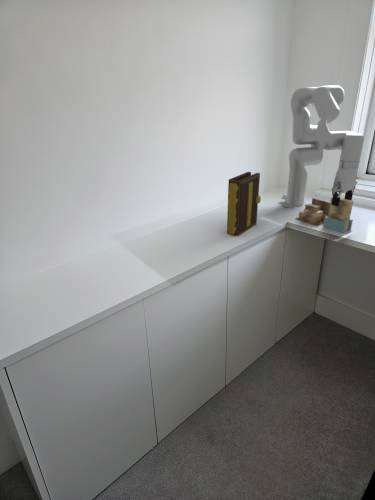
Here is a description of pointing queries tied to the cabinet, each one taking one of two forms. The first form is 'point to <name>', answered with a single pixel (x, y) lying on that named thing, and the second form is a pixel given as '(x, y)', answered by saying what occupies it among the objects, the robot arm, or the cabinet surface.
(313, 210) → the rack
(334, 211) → the light brown flat block
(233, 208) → the book
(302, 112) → the robot arm
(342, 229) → the stand
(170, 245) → the cabinet surface
